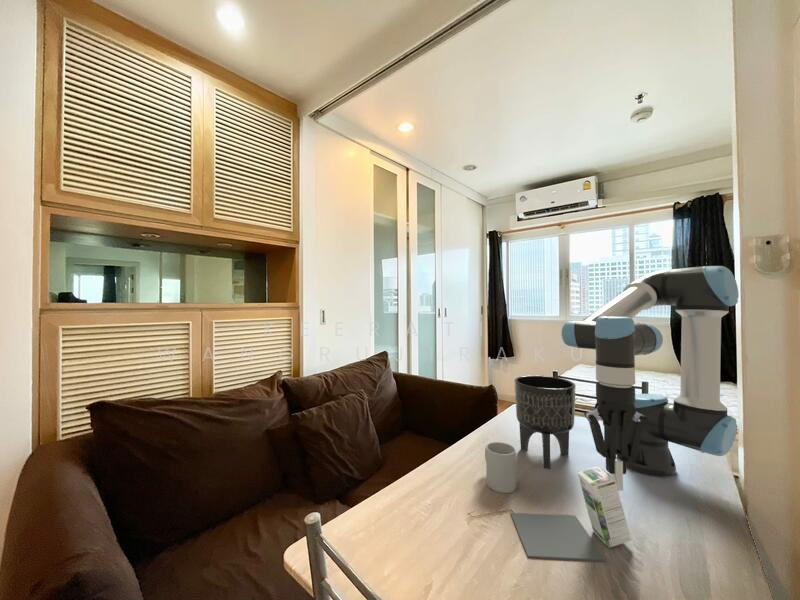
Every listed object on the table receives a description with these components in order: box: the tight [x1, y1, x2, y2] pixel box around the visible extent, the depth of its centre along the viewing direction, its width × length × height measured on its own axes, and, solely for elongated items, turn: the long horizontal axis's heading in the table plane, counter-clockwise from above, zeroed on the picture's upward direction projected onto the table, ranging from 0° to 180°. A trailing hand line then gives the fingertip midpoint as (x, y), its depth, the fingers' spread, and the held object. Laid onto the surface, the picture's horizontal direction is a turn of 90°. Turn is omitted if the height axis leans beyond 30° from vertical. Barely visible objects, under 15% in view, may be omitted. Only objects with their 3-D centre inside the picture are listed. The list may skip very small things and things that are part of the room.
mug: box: [484, 441, 517, 494], centre depth 97 cm, size 12×8×11 cm
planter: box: [514, 375, 576, 470], centre depth 113 cm, size 20×20×26 cm
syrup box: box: [577, 466, 632, 549], centre depth 74 cm, size 6×6×14 cm
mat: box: [510, 512, 607, 563], centre depth 75 cm, size 16×14×1 cm
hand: (616, 487), depth 73 cm, fingers closed
